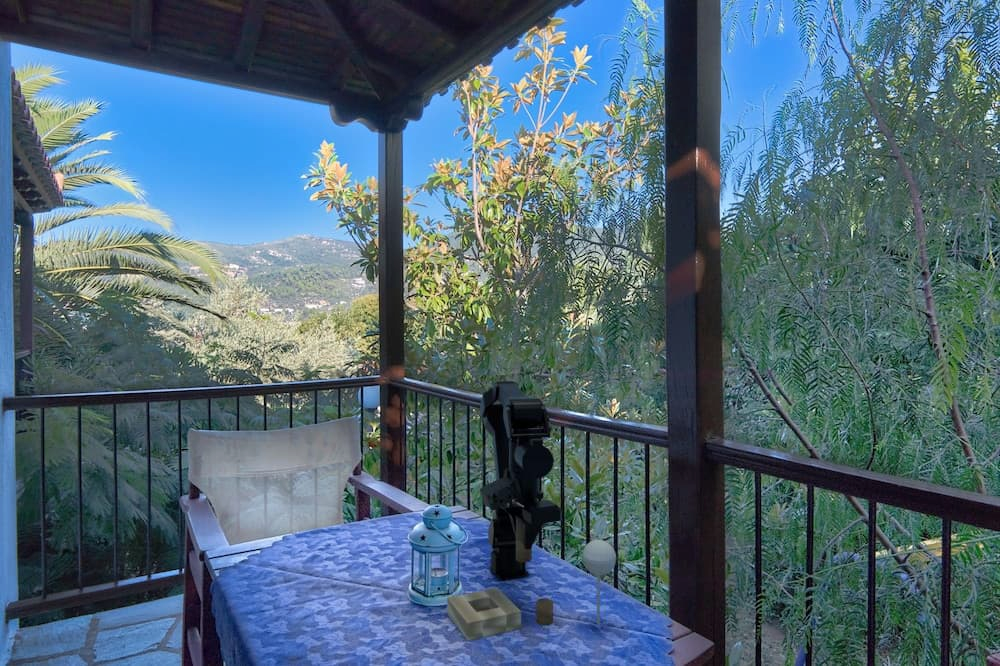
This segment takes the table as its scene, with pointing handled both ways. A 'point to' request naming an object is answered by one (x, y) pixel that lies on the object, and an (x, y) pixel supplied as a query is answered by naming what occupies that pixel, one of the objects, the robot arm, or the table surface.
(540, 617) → the short pin
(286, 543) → the table surface
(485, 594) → the bored block
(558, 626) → the table surface
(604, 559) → the lollipop
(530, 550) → the long pin
